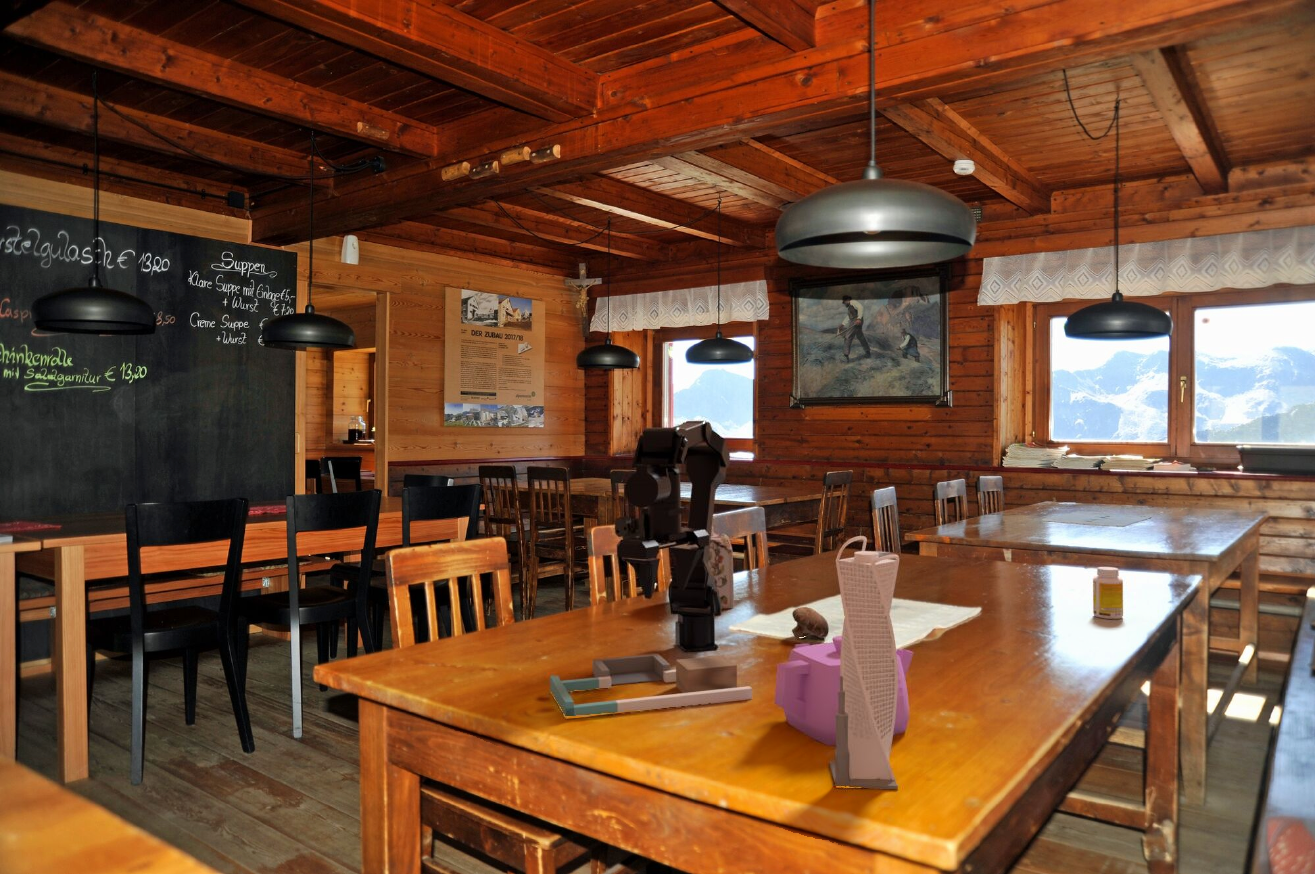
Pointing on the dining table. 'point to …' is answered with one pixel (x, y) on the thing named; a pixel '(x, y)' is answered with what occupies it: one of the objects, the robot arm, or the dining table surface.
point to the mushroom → (809, 623)
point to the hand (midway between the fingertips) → (665, 593)
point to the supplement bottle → (1108, 593)
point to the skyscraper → (866, 671)
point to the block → (705, 674)
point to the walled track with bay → (634, 672)
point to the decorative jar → (722, 567)
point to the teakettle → (825, 689)
